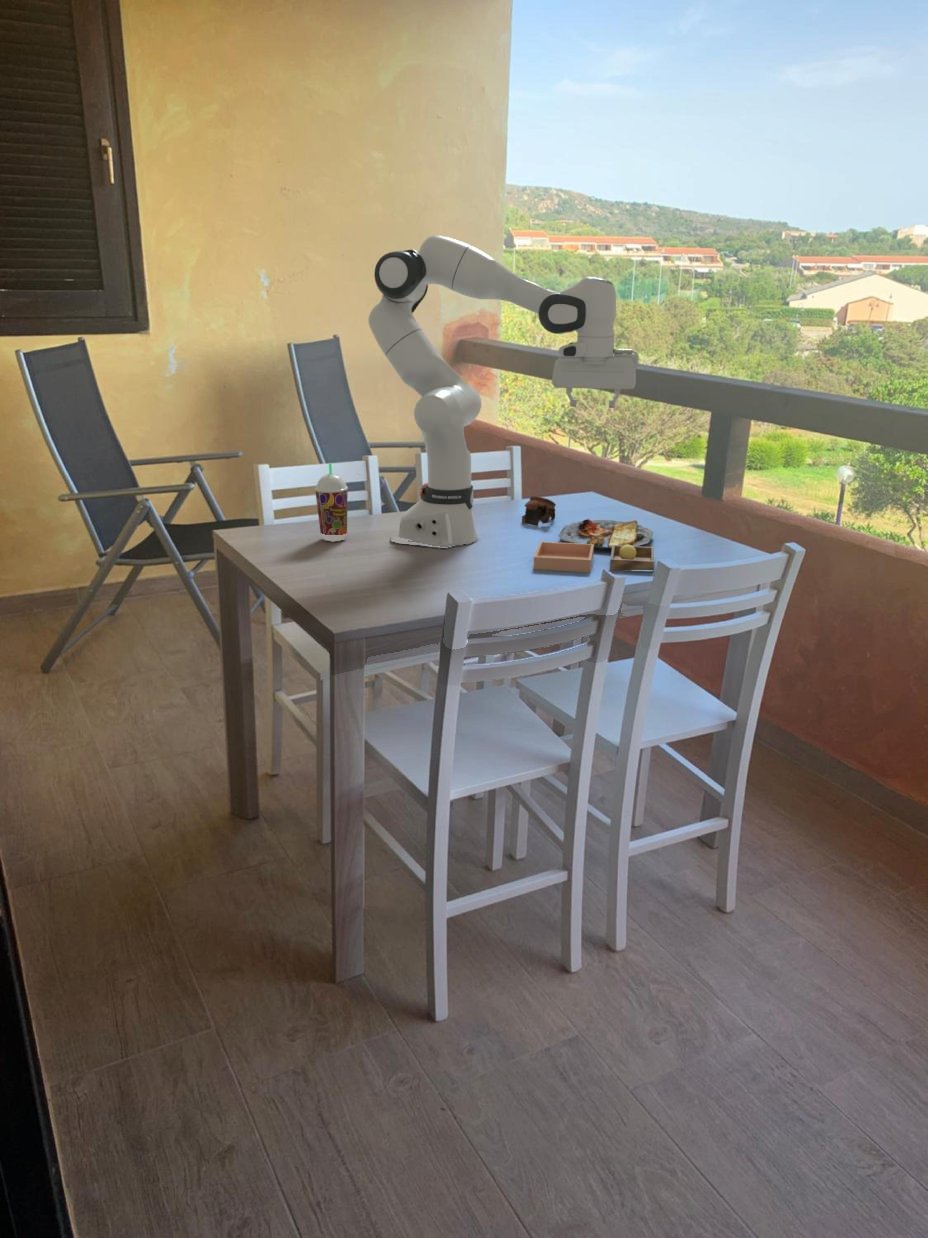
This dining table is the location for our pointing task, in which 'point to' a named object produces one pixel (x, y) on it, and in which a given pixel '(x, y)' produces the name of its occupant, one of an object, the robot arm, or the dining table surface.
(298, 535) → the dining table surface
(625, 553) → the ball
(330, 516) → the smoothie
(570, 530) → the food plate
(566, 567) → the dish
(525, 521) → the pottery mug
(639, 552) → the tray
